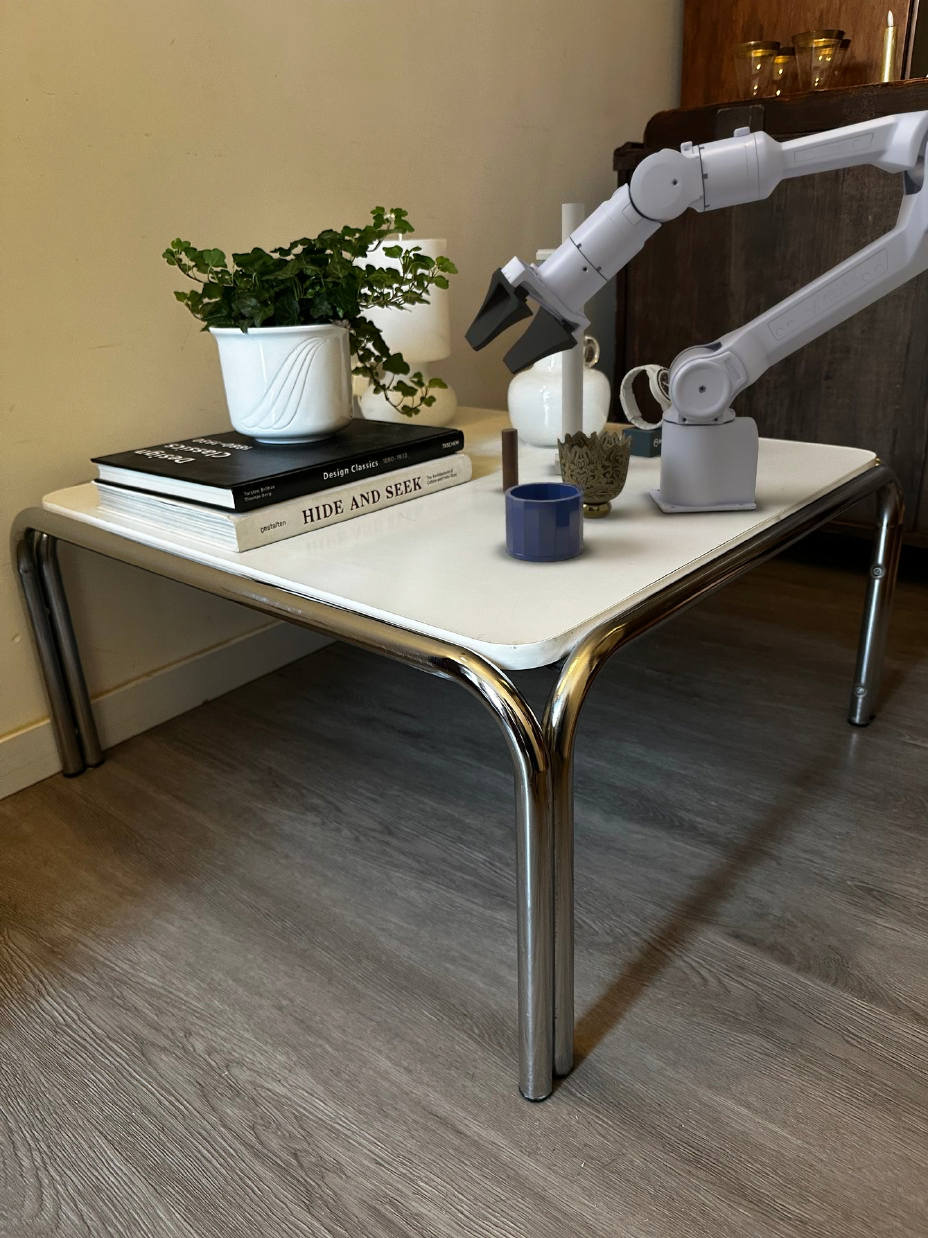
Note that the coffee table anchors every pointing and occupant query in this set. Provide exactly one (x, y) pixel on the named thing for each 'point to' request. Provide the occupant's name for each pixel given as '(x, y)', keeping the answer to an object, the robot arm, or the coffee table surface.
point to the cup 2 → (595, 468)
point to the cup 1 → (544, 521)
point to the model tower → (574, 357)
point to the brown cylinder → (510, 458)
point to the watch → (643, 433)
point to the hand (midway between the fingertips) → (489, 356)
